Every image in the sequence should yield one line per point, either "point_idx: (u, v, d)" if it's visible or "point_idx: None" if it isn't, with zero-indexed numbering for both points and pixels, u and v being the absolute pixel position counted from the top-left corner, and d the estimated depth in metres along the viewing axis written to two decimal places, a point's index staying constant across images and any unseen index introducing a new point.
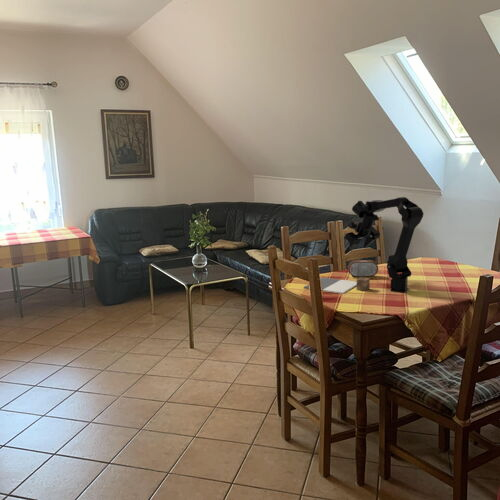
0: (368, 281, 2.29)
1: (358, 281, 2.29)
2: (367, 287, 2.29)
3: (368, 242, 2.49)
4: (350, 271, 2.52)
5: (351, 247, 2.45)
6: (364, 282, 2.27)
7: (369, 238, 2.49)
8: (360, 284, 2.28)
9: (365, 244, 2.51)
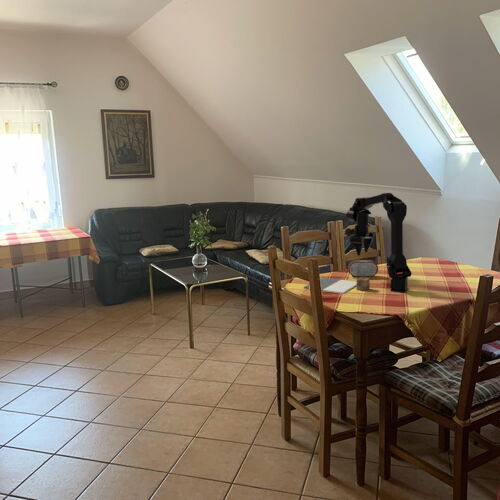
0: (368, 281, 2.29)
1: (358, 281, 2.29)
2: (367, 287, 2.29)
3: (368, 244, 2.52)
4: (350, 271, 2.52)
5: (359, 250, 2.44)
6: (364, 282, 2.27)
7: (367, 240, 2.52)
8: (360, 284, 2.28)
9: (366, 247, 2.53)
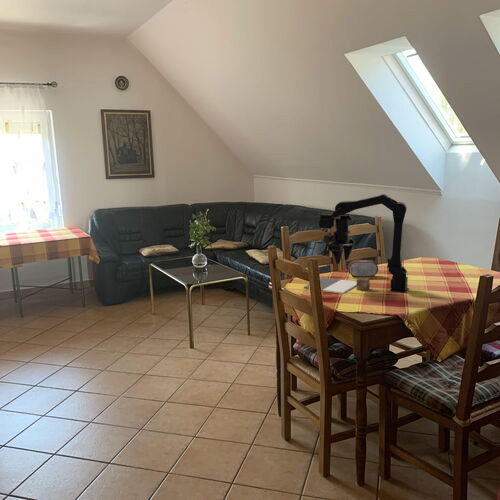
0: (368, 281, 2.29)
1: (358, 281, 2.29)
2: (367, 287, 2.29)
3: (348, 251, 2.35)
4: (350, 271, 2.52)
5: (338, 258, 2.27)
6: (364, 282, 2.27)
7: (348, 247, 2.35)
8: (360, 284, 2.28)
9: (346, 255, 2.36)
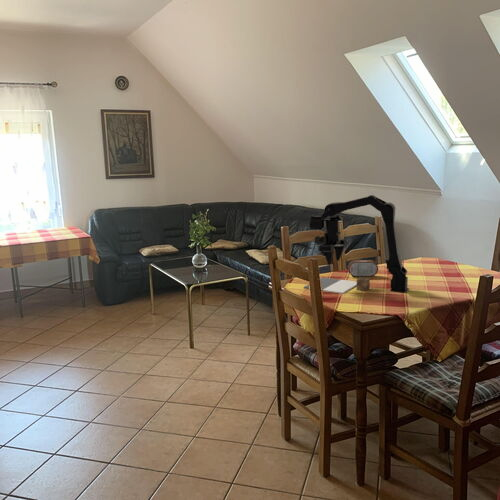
0: (368, 281, 2.29)
1: (358, 281, 2.29)
2: (367, 287, 2.29)
3: (340, 252, 2.38)
4: (350, 271, 2.52)
5: (329, 259, 2.30)
6: (364, 282, 2.27)
7: (339, 248, 2.38)
8: (360, 284, 2.28)
9: (337, 256, 2.39)
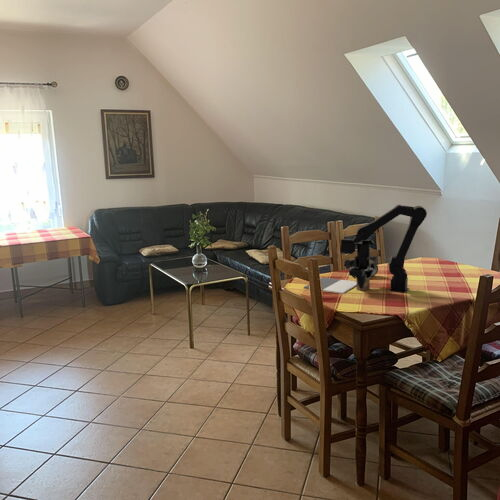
0: (368, 281, 2.29)
1: None
2: (367, 287, 2.29)
3: (367, 277, 2.31)
4: None
5: (361, 283, 2.26)
6: (364, 282, 2.27)
7: (367, 272, 2.31)
8: None
9: None
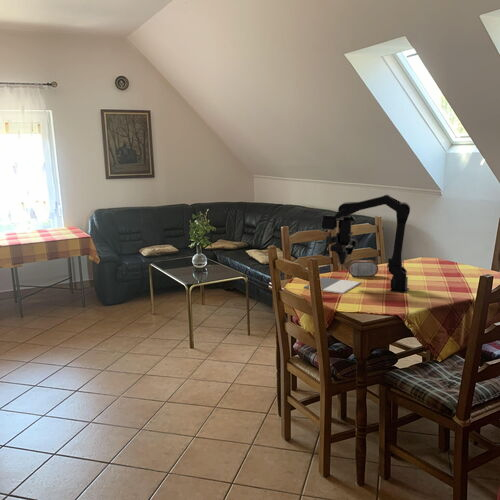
0: (349, 257, 2.31)
1: None
2: (348, 263, 2.31)
3: (349, 254, 2.33)
4: (350, 271, 2.52)
5: (342, 259, 2.29)
6: None
7: (348, 249, 2.33)
8: None
9: None
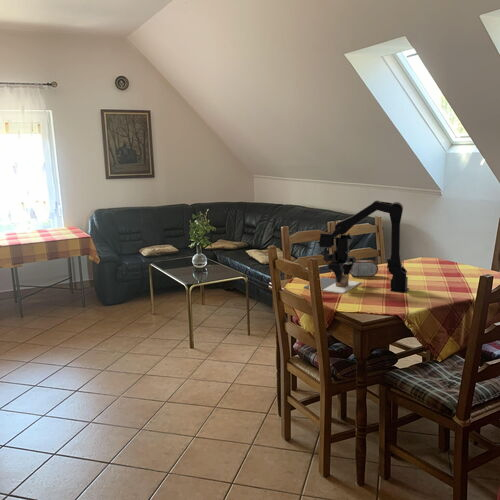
0: (347, 277, 2.34)
1: None
2: (346, 283, 2.33)
3: (348, 270, 2.36)
4: (350, 271, 2.52)
5: (339, 277, 2.30)
6: (342, 279, 2.32)
7: (347, 266, 2.36)
8: None
9: (345, 274, 2.37)
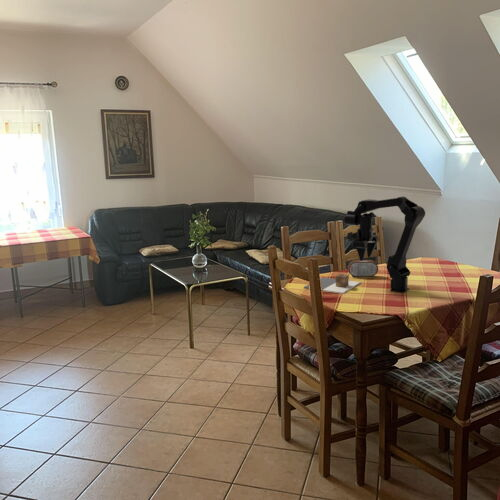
0: (347, 277, 2.34)
1: (337, 278, 2.33)
2: (346, 283, 2.33)
3: (371, 248, 2.40)
4: (350, 271, 2.52)
5: (362, 255, 2.32)
6: (342, 279, 2.32)
7: (370, 244, 2.40)
8: (339, 280, 2.33)
9: (369, 252, 2.41)
